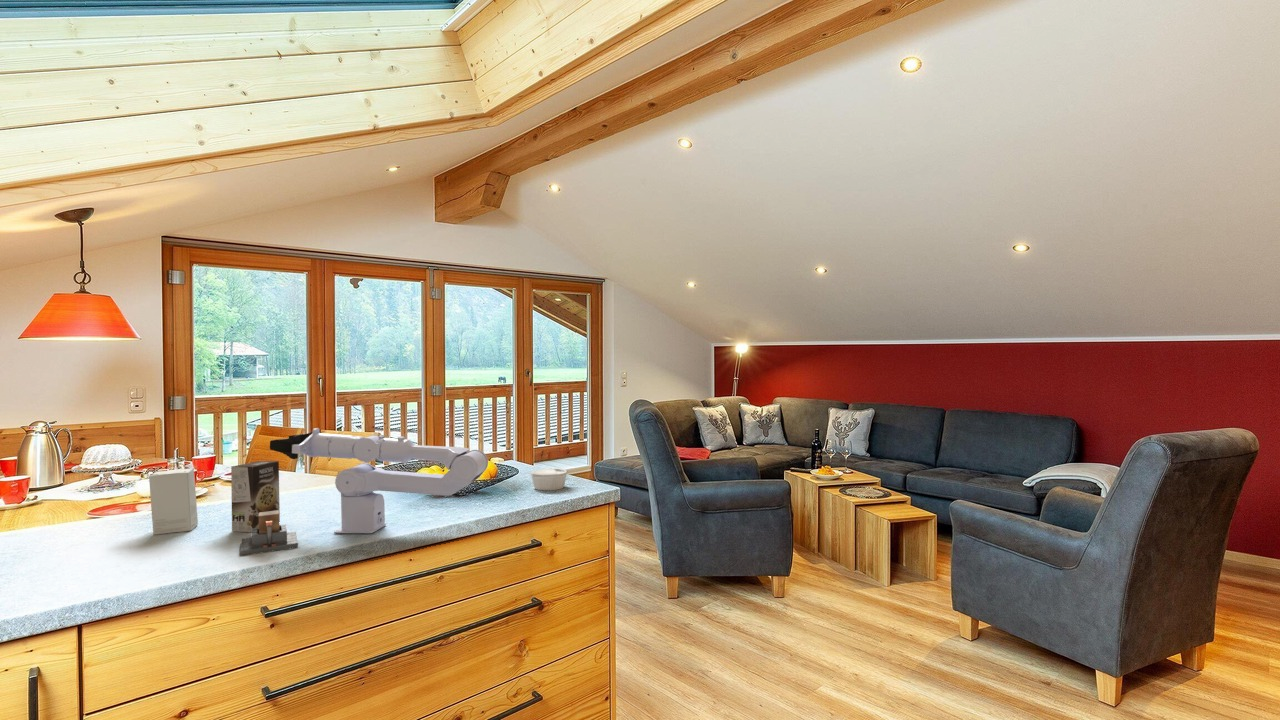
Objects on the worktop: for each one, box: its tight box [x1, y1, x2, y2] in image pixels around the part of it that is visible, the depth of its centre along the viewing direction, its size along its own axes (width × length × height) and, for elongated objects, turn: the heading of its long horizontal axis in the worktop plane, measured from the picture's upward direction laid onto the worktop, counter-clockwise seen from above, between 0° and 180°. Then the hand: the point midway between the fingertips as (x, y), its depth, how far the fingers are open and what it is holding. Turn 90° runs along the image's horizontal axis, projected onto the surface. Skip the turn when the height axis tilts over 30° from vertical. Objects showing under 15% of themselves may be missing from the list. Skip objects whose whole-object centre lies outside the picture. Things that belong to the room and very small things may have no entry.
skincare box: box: [148, 467, 199, 535], centre depth 161 cm, size 8×6×15 cm
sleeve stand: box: [239, 521, 299, 556], centre depth 147 cm, size 11×11×6 cm
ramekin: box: [530, 468, 568, 492], centre depth 206 cm, size 11×11×5 cm
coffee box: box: [230, 460, 281, 533], centre depth 163 cm, size 9×6×16 cm
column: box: [259, 510, 280, 534], centre depth 147 cm, size 4×4×6 cm
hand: (280, 442), depth 160 cm, fingers open, 7 cm apart
